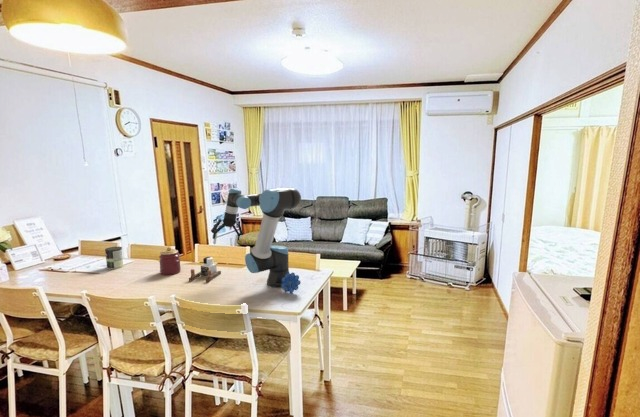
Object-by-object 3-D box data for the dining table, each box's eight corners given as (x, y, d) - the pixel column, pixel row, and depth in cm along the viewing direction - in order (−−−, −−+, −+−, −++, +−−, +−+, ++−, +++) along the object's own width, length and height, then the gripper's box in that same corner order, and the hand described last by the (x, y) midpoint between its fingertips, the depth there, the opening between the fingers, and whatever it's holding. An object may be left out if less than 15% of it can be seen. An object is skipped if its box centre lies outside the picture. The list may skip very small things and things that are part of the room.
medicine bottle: (201, 275, 219) (199, 258, 217) (209, 272, 225) (208, 255, 223) (208, 277, 215) (207, 259, 214) (217, 274, 222) (216, 256, 220)
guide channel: (202, 272, 225) (202, 263, 224) (221, 273, 223) (220, 264, 222) (188, 281, 209) (187, 271, 208) (208, 282, 206) (207, 272, 205)
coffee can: (105, 270, 232) (103, 250, 230) (108, 266, 241) (106, 247, 240) (122, 268, 236) (121, 249, 235) (124, 264, 246) (122, 245, 244)
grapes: (303, 290, 191) (302, 270, 190) (299, 295, 185) (298, 274, 183) (284, 289, 194) (283, 269, 193) (279, 293, 188) (279, 272, 186)
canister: (166, 276, 218) (164, 250, 215) (156, 273, 226) (154, 247, 223) (184, 271, 228) (183, 246, 226) (174, 268, 236) (172, 243, 233)
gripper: (248, 213, 221) (241, 243, 224) (210, 208, 208) (203, 241, 211) (251, 216, 215) (245, 247, 217) (212, 211, 202) (206, 244, 204)
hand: (224, 244), depth 214 cm, fingers open, 13 cm apart
